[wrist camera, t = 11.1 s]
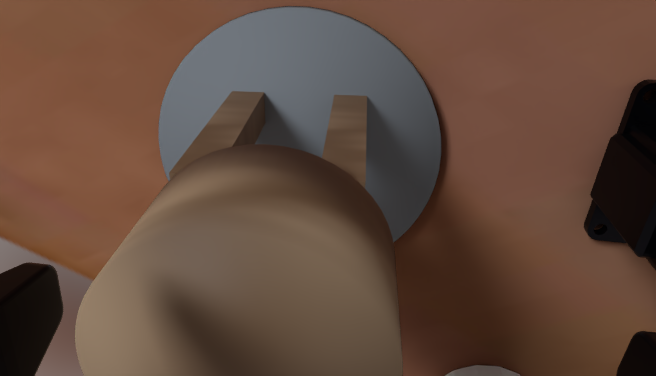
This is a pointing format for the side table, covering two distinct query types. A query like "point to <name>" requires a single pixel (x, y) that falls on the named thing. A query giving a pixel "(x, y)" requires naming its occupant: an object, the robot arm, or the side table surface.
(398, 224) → the mat
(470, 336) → the side table surface
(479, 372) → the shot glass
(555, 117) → the side table surface
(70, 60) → the side table surface
